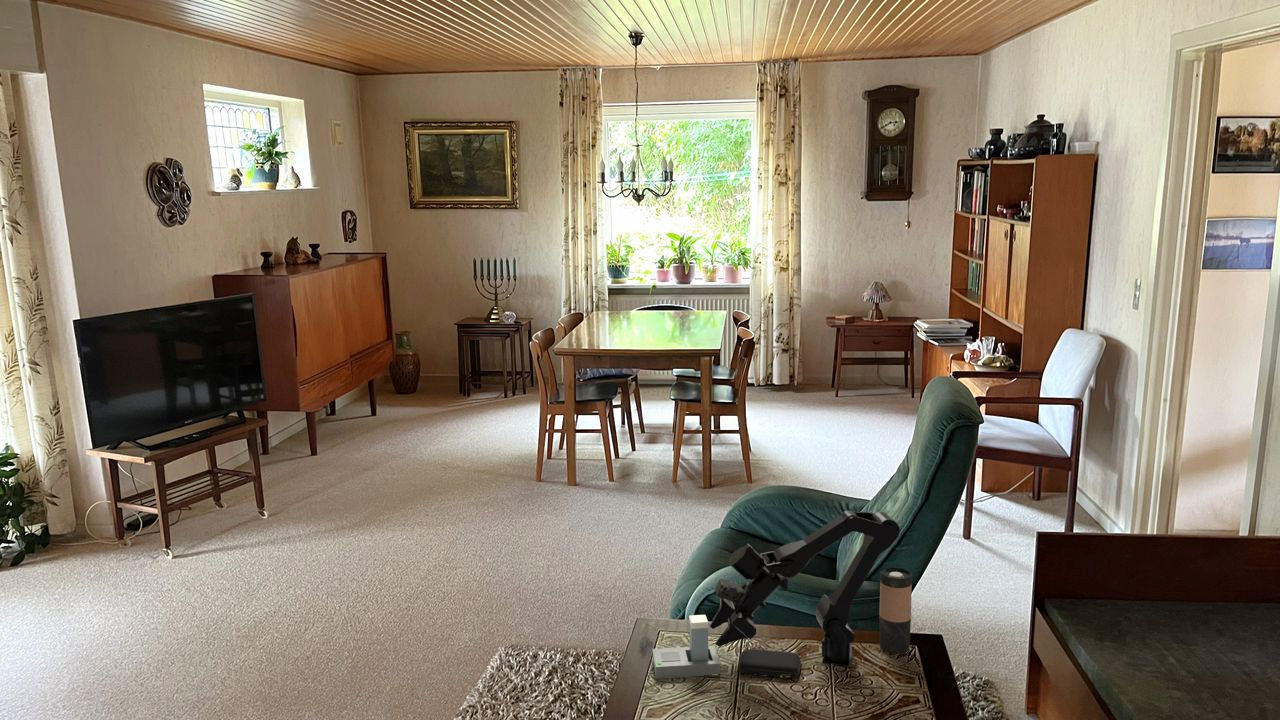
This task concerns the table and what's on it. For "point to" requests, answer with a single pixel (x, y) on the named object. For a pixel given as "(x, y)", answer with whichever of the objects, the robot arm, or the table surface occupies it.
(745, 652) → the carrying case or bag
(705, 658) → the blue-grey square block
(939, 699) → the table surface
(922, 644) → the table surface
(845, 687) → the table surface
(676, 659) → the grey holder base
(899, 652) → the travel mug
